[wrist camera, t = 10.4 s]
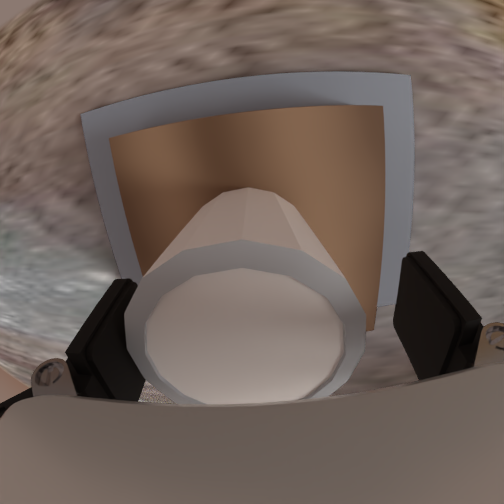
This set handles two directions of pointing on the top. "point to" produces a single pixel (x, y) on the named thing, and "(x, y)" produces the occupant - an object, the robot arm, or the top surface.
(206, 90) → the slate gray board
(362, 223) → the walnut plinth
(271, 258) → the white tapered cup
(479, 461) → the robot arm
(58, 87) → the top surface
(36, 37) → the top surface
